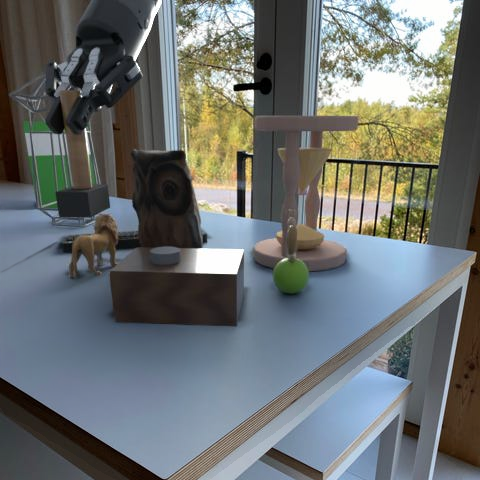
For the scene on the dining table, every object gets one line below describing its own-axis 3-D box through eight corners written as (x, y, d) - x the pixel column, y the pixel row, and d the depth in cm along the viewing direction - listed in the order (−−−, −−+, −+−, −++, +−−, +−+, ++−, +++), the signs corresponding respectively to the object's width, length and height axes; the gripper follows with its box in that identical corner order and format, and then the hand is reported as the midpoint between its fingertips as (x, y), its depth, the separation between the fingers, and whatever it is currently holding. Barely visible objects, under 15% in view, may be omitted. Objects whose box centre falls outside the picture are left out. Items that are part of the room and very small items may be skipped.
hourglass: (317, 278, 79) (328, 115, 69) (234, 260, 89) (234, 115, 79) (361, 256, 92) (375, 116, 82) (284, 243, 102) (289, 116, 92)
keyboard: (197, 231, 112) (197, 223, 111) (207, 242, 102) (207, 233, 101) (64, 240, 104) (63, 231, 103) (62, 252, 94) (61, 242, 94)
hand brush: (58, 217, 57) (39, 89, 52) (81, 207, 64) (66, 92, 58) (90, 217, 57) (74, 88, 52) (110, 207, 64) (97, 92, 58)
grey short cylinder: (147, 264, 62) (146, 253, 61) (154, 256, 65) (153, 246, 65) (177, 265, 61) (176, 254, 61) (183, 257, 65) (182, 246, 64)
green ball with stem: (305, 284, 76) (309, 209, 71) (309, 298, 70) (314, 217, 65) (271, 284, 76) (273, 209, 71) (272, 298, 70) (275, 217, 66)
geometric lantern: (88, 231, 112) (66, 64, 98) (27, 229, 114) (-2, 65, 101) (115, 219, 126) (100, 71, 112) (61, 217, 129) (40, 72, 115)
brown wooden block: (107, 321, 62) (101, 270, 59) (133, 291, 73) (129, 246, 70) (236, 326, 61) (236, 273, 58) (243, 294, 72) (243, 249, 69)
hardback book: (96, 202, 152) (87, 121, 143) (98, 205, 146) (89, 121, 136) (37, 205, 146) (24, 121, 137) (37, 209, 140) (22, 121, 131)
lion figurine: (100, 258, 90) (94, 210, 87) (127, 259, 90) (122, 211, 86) (62, 282, 77) (54, 227, 74) (93, 284, 76) (86, 228, 73)
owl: (203, 274, 81) (199, 150, 73) (128, 275, 81) (116, 150, 73) (205, 255, 93) (201, 146, 85) (140, 255, 92) (130, 146, 84)
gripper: (57, 0, 60) (-5, 104, 54) (150, -12, 54) (92, 102, 49) (90, 53, 66) (38, 150, 61) (176, 47, 61) (128, 153, 56)
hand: (62, 128), depth 55 cm, fingers closed on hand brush, 2 cm apart
